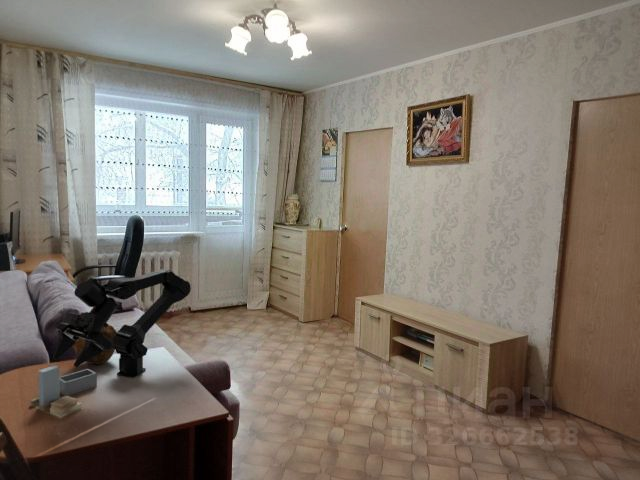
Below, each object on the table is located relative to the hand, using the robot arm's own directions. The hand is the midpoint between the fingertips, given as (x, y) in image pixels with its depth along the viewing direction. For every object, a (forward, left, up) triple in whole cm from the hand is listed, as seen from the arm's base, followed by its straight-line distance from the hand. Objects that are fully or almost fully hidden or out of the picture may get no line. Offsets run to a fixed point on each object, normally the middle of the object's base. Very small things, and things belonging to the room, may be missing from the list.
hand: (64, 362), depth 130 cm
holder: (+1, -6, -11) cm, 12 cm away
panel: (+1, +4, -10) cm, 11 cm away
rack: (-2, +5, -11) cm, 12 cm away
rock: (+9, -24, -11) cm, 28 cm away
